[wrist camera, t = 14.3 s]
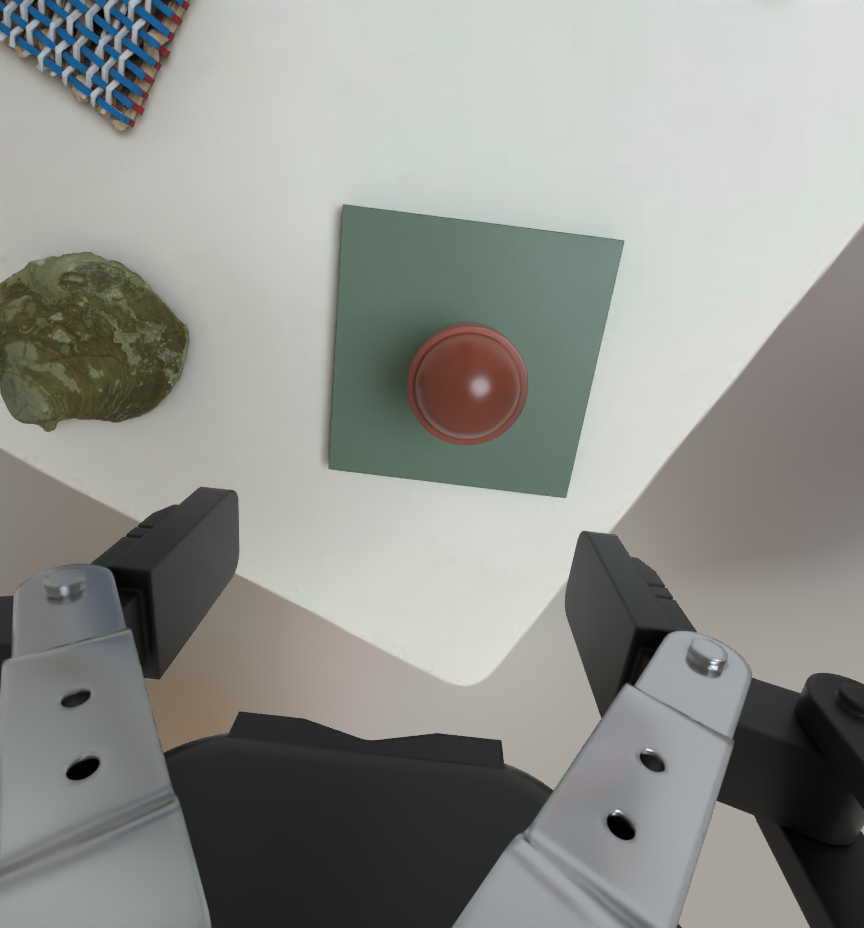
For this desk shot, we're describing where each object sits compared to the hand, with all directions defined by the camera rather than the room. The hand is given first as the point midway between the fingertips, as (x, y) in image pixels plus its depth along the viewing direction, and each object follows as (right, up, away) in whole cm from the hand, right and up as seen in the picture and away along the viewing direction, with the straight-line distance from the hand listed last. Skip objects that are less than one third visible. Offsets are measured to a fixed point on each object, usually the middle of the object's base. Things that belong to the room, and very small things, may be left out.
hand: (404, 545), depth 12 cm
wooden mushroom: (+3, +8, +20) cm, 22 cm away
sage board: (+3, +8, +21) cm, 23 cm away
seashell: (-20, +9, +22) cm, 31 cm away
